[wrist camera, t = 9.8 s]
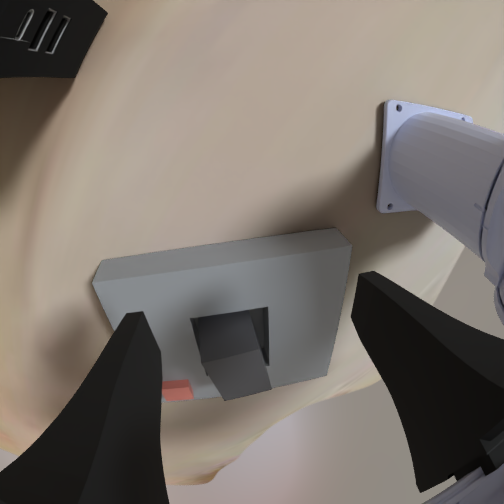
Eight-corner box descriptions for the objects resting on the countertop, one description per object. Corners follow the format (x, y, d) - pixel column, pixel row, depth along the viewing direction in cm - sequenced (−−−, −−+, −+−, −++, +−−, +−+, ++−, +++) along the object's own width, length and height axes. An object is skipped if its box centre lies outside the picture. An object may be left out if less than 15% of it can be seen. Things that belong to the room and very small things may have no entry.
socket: (335, 227, 19) (358, 252, 16) (318, 355, 27) (329, 382, 24) (101, 260, 17) (88, 290, 14) (156, 381, 25) (155, 410, 22)
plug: (245, 295, 20) (258, 349, 16) (258, 339, 23) (272, 389, 19) (197, 307, 20) (201, 363, 16) (217, 349, 23) (224, 400, 19)
